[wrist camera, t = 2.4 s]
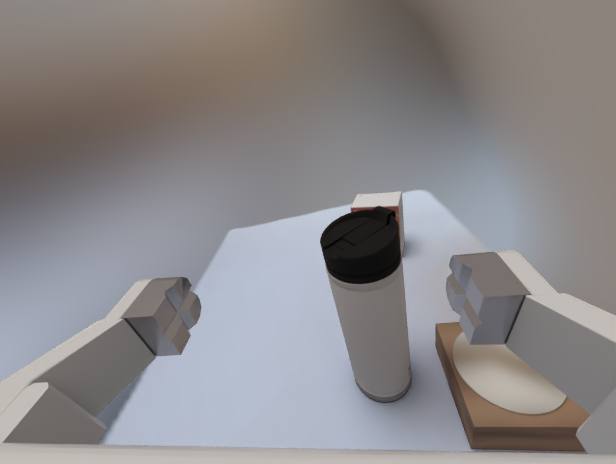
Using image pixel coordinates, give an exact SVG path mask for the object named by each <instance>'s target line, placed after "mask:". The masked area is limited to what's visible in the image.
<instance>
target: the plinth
mask: <svg viewBox="0 0 616 464" xmlns="http://www.w3.org/2000/svg"><path fill="white" fill-rule="evenodd" d="M436 349H437V352H438V355H439V358H440V360H441V363H442V366H443V369H444V372H445V375H446V378H447V381H448V384H449V386H450V389H451V392H452V395H453V398H454V401H455V404H456V407H457V409H458V412H459V415H460V418H461V421H462V424H463V427H464V430H465V433H466V435H467V438H468V441H469V444H470V447H471V449H510V450H558V451H586V450H585V449H584V447H583V446H582V444H581V443H580V441H579V439H578V438H577V436H576V433H577V430H578V428H579V427H580V426H581V425H582V424H583V423H584V422H585V421H586V420H587V418H588V417H589V416H590V414H589V413H587V412H586V411H585V410H584V409H582V408H581V407H580V406H579V405H578V404H576V403H575V402H574V401H573V400H571V399H570V398H569V397H568V396H566V395H565V394H564V393H563V392H561V391H560V390H559V389H558V388H556V387H555V386H554V385H553V384H552V383H550V382H549V381H548V380H547V379H545V378H544V377H543V376H542V375H540V374H539V373H538V372H537V371H535V370H534V369H533V368H532V367H530V366H529V365H528V364H527V363H526V362H524V361H523V360H522V359H521V358H519V357H518V356H517V355H516V354H514V353H513V352H512V351H511V350H509V349H508V348H507V347H506V345H470V344H469V342H468V340H467V338H466V336H465V334H464V332H463V330H462V328H461V326H460V324H459V322H454V323H440V324H436Z"/></svg>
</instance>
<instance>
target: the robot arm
mask: <svg viewBox="0 0 616 464" xmlns="http://www.w3.org/2000/svg"><path fill="white" fill-rule="evenodd" d="M449 267H450V269H451V271H452V272H453V273H452V274H451V275H450V276H449V277H448V278H447V282H446V291H447V297H448V300H449V303H450V306H451V308H452V310H453V311H455V312H456V313H458V314H459V315H461V317H460V322H459V324H460V326H461V328H462V330H463V332H464V334H465V336H466V338H467V340H468V342H469V344H470V345H506V347H507V348H508V349H509V350H511V351H512V352H513V353H514V354H516V355H517V356H518V357H519V358H521V359H522V360H523V361H524V362H526V363H527V364H528V365H529V366H530V367H532V368H533V369H534V370H535V371H537V372H538V373H539V374H540V375H542V376H543V377H544V378H545V379H547V380H548V381H549V382H550V383H552V384H553V385H554V386H555V387H556V388H558V389H559V390H560V391H561V392H563V393H564V394H565V395H566V396H568V397H569V398H570V399H571V400H573V401H574V402H575V403H576V404H578V405H579V406H580V407H581V408H582V409H584V410H585V411H586V412H587V413H589V414H590V416H589V417H588V418H587V420H586V421H585V422H584V423H583V424H582V425H581V426H580V427H579V428H578V430H577V433H576V436H577V438H578V439H579V441H580V443H581V444H582V446H583V447H584V449H585V450H586V452H587V453H588V454H565V453H513V452H462V451H410V450H359V449H306V448H254V447H201V446H148V445H98V443H99V442H100V440H101V438H102V437H103V435H104V433H105V431H106V426H105V425H104V424H103V423H102V422H101V421H99V420H98V419H96V418H95V417H96V416H97V415H98V414H99V413H100V412H101V411H103V410H104V408H105V407H106V406H108V405H109V404H110V403H111V402H112V401H113V400H114V399H115V398H116V397H117V396H118V395H119V393H121V392H122V391H123V390H124V389H125V388H126V387H127V386H128V385H129V384H130V383H131V382H132V381H133V380H134V379H135V378H136V377H137V376H138V375H139V374H140V373H141V372H142V371H143V370H144V369H145V368H146V367H147V366H148V365H149V364H150V363H151V362H152V361H153V360H154V359H155V358H156V357H155V356H169V355H181V354H182V352H183V350H184V348H185V346H186V344H187V342H188V340H189V338H190V336H191V335H190V331H189V329H191V328H192V327H193V326H194V325H195V324H196V323H197V321H198V319H199V317H200V312H201V304H200V300H199V298H198V296H197V295H196V294H195V293H193V292H191V291H190V289H191V286H192V285H191V284H190V282H189V280H188V279H187V278H184V277H174V278H156V279H143V280H140V281H138V282H136V283H135V284H134V285H133V286H132V287H131V288H130V290H129V291H128V292H127V293H126V294H125V296H124V297H123V298H122V299H121V300H120V301H119V303H118V304H117V305H116V306H115V307H114V308H113V309H112V310H111V312H110V313H109V314H108V315H107V316H106V318H105V319H104V320H98V321H97V322H95V323H94V324H92V325H91V326H89V327H87V328H86V329H84V330H83V331H81V332H79V333H78V334H76V335H75V336H73V337H71V338H70V339H68V340H67V341H65V342H63V343H62V344H60V345H59V346H57V347H55V348H54V349H52V350H51V351H49V352H48V353H46V354H44V355H43V356H41V357H40V358H38V359H37V360H35V361H33V362H32V363H30V364H29V365H27V366H25V367H24V368H22V369H21V370H19V371H17V372H16V373H14V374H13V375H11V376H9V377H8V378H6V379H5V380H3V381H2V382H0V464H616V316H615V315H612V314H610V313H608V312H606V311H604V310H601V309H599V308H597V307H595V306H593V305H590V304H588V303H586V302H584V301H582V300H579V299H577V298H575V297H573V296H571V295H568V294H566V293H564V294H558V293H557V292H556V291H555V290H554V289H553V288H552V286H551V285H550V284H549V283H547V281H546V280H545V279H544V278H543V277H542V276H541V275H540V274H539V273H538V272H537V271H536V270H535V269H534V268H533V267H532V266H531V265H530V264H529V263H528V262H527V261H526V260H525V259H524V258H523V257H522V256H521V255H520V254H519V253H518V252H517V251H514V250H504V251H494V252H487V253H475V254H463V255H453V256H452V258H451V259H450V264H449Z"/></svg>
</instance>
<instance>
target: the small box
mask: <svg viewBox="0 0 616 464" xmlns="http://www.w3.org/2000/svg"><path fill="white" fill-rule="evenodd" d="M377 206H382V207H385V208H388V209H391V210H394V211H395V212H396V218H395V219H396V220H397V222H398V225H399V236H400V250H401V255H402V254H403V248H404V222H403V205H402V192H401V191H399V192H393V193H376V194H358V195H357V196H356V198H355V200H354V202H353V204H352V206H351V212H355V211H359V210H366V209H373V208H375V207H377Z"/></svg>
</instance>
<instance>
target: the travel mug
mask: <svg viewBox="0 0 616 464" xmlns="http://www.w3.org/2000/svg"><path fill="white" fill-rule="evenodd" d="M395 218H396V212H395V211H394V210H391V209H388V208H385V207H382V206H377V207H375V208H373V209H366V210H359V211H355V212H351V213H348V214H346V215H344V216H341V217H340V218H338V219H336V220H335V221H333V222H332V223H331V224H330V225H329V226H328V227H327V228H326V229H325V230H324V232H323V233H322V236H321V240H320V243H321V247H322V252H323V256H324V259H325V263H326V270H327V273H328V278H329V281H330V285H331V289H332V293H333V297H334V300H335V304H336V308H337V312H338V316H339V319H340V323H341V327H342V331H343V335H344V338H345V342H346V346H347V350H348V354H349V358H350V361H351V365H352V369H353V373H354V377H355V380H356V383H357V385H358V387H359V388H360V390H361V391H362V392H363V393H364V394H365V395H366V396H368V397H369V398H371V399H374V400H376V401H381V402H390V401H395V400H397V399H399V398H400V397H402V396H403V395H404V394H405V393H406V392H407V391H408V389H409V387H410V383H411V368H410V354H409V341H408V328H407V315H406V302H405V290H404V277H403V265H402V255H401V250H400V236H399V225H398V222H397V220H396V219H395Z"/></svg>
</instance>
